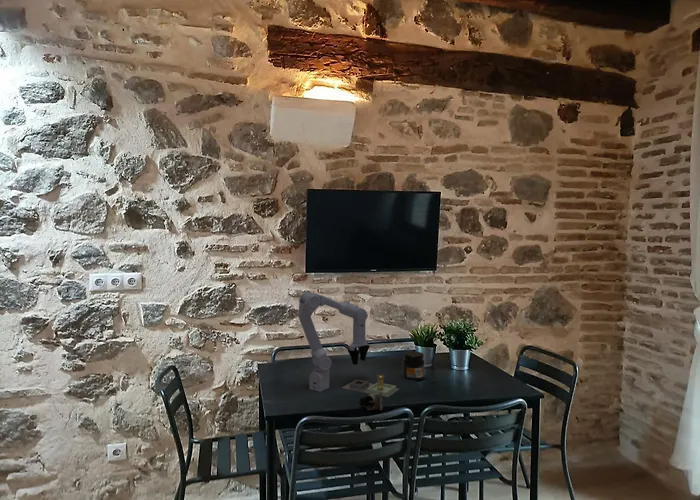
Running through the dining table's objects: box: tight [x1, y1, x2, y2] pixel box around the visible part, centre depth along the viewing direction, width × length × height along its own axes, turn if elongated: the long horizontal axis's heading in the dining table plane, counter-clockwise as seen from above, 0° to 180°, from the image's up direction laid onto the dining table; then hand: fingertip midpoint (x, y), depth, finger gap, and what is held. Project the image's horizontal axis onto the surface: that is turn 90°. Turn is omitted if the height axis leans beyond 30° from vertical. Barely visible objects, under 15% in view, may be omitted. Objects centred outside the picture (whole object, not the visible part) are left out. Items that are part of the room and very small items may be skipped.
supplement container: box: [402, 350, 425, 382], centre depth 244 cm, size 10×10×12 cm
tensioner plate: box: [341, 379, 400, 398], centre depth 227 cm, size 12×23×1 cm, turn 60°
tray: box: [367, 381, 397, 397], centre depth 225 cm, size 10×9×1 cm
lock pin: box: [376, 374, 385, 391], centre depth 225 cm, size 3×3×6 cm
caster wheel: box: [359, 392, 384, 412], centre depth 207 cm, size 7×11×10 cm
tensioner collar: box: [348, 379, 370, 389], centre depth 231 cm, size 7×7×1 cm
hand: (359, 362), depth 236 cm, fingers open, 7 cm apart
